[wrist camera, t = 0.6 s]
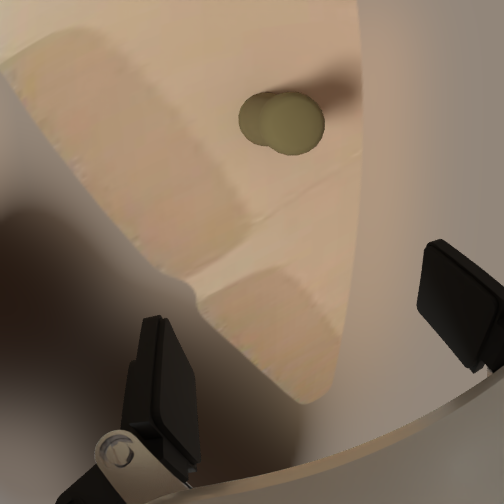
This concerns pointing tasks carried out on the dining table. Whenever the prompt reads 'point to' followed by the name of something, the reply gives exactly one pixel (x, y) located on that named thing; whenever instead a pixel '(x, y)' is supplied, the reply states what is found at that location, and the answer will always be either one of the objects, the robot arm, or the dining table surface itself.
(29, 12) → the dining table surface
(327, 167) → the dining table surface
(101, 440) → the robot arm
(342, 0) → the dining table surface
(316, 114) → the pepper shaker
